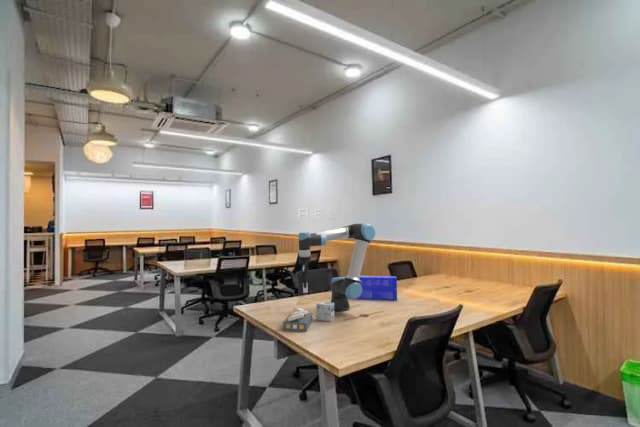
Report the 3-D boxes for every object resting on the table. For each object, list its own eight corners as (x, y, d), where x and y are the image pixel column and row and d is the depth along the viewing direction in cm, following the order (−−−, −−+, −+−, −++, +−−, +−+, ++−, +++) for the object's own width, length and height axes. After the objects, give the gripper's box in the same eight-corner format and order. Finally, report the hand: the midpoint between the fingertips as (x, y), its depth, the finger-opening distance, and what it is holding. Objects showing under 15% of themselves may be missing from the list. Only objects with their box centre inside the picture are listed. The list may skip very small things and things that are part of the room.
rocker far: (306, 313, 211) (307, 311, 211) (305, 315, 207) (306, 312, 207) (294, 308, 212) (295, 305, 212) (292, 310, 208) (293, 307, 208)
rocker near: (304, 315, 198) (303, 312, 198) (302, 317, 194) (301, 313, 194) (290, 319, 199) (289, 316, 199) (288, 321, 195) (287, 318, 195)
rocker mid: (306, 312, 204) (305, 309, 204) (304, 314, 200) (304, 311, 201) (292, 315, 206) (291, 312, 206) (290, 317, 202) (290, 314, 202)
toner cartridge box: (396, 298, 273) (396, 276, 274) (397, 300, 265) (396, 277, 265) (350, 296, 281) (350, 275, 281) (349, 298, 272) (349, 276, 273)
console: (312, 321, 212) (312, 311, 212) (306, 331, 192) (306, 321, 192) (291, 320, 214) (291, 311, 214) (283, 330, 194) (283, 320, 194)
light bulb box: (334, 318, 218) (334, 302, 218) (331, 321, 211) (331, 304, 211) (319, 317, 221) (319, 301, 221) (316, 320, 215) (316, 303, 215)
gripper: (300, 255, 220) (301, 290, 220) (297, 257, 207) (298, 294, 207) (311, 254, 219) (312, 290, 219) (308, 257, 206) (309, 294, 206)
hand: (305, 292), depth 213 cm, fingers closed
